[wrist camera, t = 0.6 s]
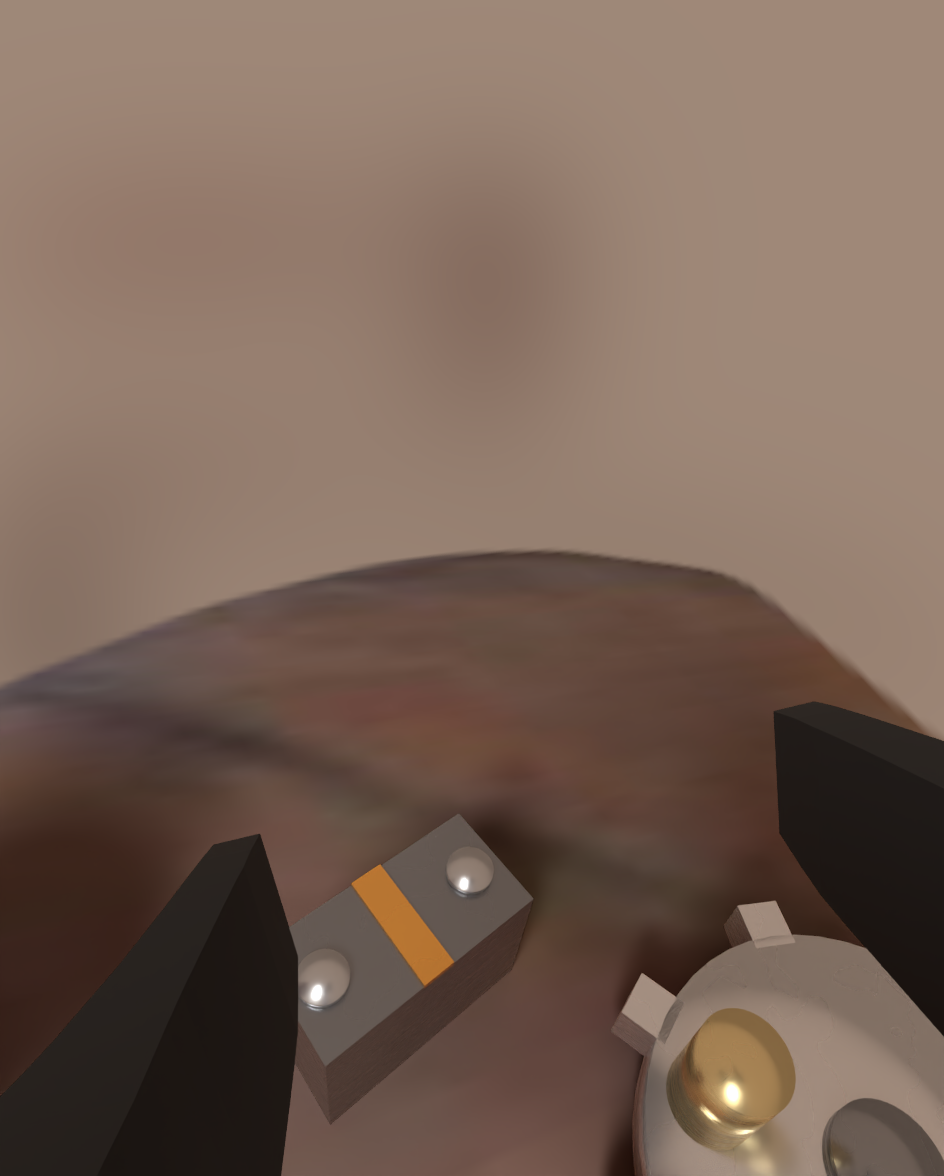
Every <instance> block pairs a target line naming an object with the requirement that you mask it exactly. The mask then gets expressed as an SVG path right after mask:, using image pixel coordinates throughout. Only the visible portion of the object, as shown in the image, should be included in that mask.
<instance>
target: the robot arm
mask: <svg viewBox="0 0 944 1176" xmlns="http://www.w3.org/2000/svg"><path fill="white" fill-rule="evenodd" d="M774 729H775V749H776V769H777V790H778V810H779V830H780V835H781V836H782V838H783V839H784V841H785V842H786V844H787V845H788V847H789V849H790V850H791V852H792V853H793V855H794V856H795V858H796V859H797V861H798V862H799V864H800V866H801V867H802V869H803V870H804V871H805V873H806V874H807V876H808V877H809V879H810V880H811V882H812V883H813V884H814V886H815V887H816V889H817V890H818V892H819V893H820V895H821V896H822V897H823V898H824V900H825V901H826V902H827V903H828V904H829V905H830V907H831V908H832V909H833V910H834V911H835V913H836V914H837V915H838V916H839V917H840V918H841V920H842V921H843V922H844V923H845V924H846V925H847V927H848V928H849V929H850V930H851V931H852V932H853V934H854V935H855V936H856V937H857V938H858V939H859V940H860V942H861V943H862V944H863V945H864V946H865V947H866V949H867V950H868V951H869V952H870V953H871V954H872V955H873V957H874V958H875V959H876V960H877V961H878V962H879V963H880V965H881V966H882V967H883V968H884V969H885V970H886V971H887V972H888V974H889V975H890V976H891V977H892V978H893V979H894V980H895V982H896V983H897V984H898V985H899V986H900V987H901V988H902V990H903V991H904V992H905V993H906V994H907V995H908V996H909V998H910V999H911V1000H912V1001H913V1002H914V1003H915V1004H916V1006H917V1007H918V1008H919V1009H920V1010H921V1011H922V1012H923V1014H924V1015H925V1016H926V1017H927V1018H928V1019H929V1020H930V1022H931V1023H932V1024H933V1025H934V1026H935V1027H936V1028H937V1030H938V1031H939V1032H940V1033H941V1034H942V1035H943V1036H944V741H942V740H939V739H936V738H933V737H929V736H926V735H923V734H920V733H917V732H914V731H911V730H908V729H905V728H902V727H899V726H896V725H893V724H890V723H887V722H884V721H881V720H878V719H875V718H871V717H868V716H865V715H862V714H859V713H855V712H852V711H849V710H845V709H842V708H839V707H835V706H831V705H827V704H823V703H819V702H810V703H806V704H802V705H798V706H794V707H789V708H785V709H781V710H777V711H774ZM297 1037H298V954H297V951H296V948H295V945H294V941H293V938H292V935H291V932H290V929H289V925H288V922H287V919H286V916H285V913H284V909H283V906H282V903H281V900H280V897H279V893H278V890H277V887H276V884H275V880H274V877H273V874H272V871H271V868H270V864H269V861H268V858H267V855H266V852H265V848H264V845H263V842H262V839H261V836H260V834H257V835H253V836H248V837H244V838H240V839H236V840H232V841H227V842H223V843H219V844H215V845H213V846H212V847H211V848H210V850H209V851H208V852H207V853H206V854H205V856H204V857H203V858H202V859H201V861H200V862H199V863H198V865H197V866H196V867H195V868H194V870H193V871H192V872H191V874H190V875H189V876H188V877H187V879H186V880H185V881H184V883H183V884H182V885H181V887H180V888H179V889H178V891H177V892H176V893H175V894H174V896H173V897H172V898H171V900H170V901H169V902H168V904H167V905H166V906H165V908H164V909H163V910H162V911H161V913H160V914H159V915H158V916H157V918H156V919H155V920H154V922H153V923H152V924H151V925H150V927H149V928H148V929H147V930H146V932H145V933H144V934H143V935H142V937H141V938H140V939H139V941H138V942H137V943H136V944H135V946H134V947H133V948H132V949H131V951H130V952H129V953H128V954H127V956H126V957H125V958H124V959H123V961H122V962H121V963H120V964H119V966H118V967H117V968H116V969H115V970H114V971H113V973H112V974H111V975H110V976H109V977H108V978H107V980H106V981H105V982H104V983H103V984H102V985H101V987H100V988H99V989H98V990H97V991H96V992H95V993H94V995H93V996H92V997H91V998H90V999H89V1000H88V1002H87V1003H86V1004H85V1005H84V1006H83V1007H82V1009H81V1010H80V1011H79V1012H78V1013H77V1014H76V1016H75V1017H74V1018H73V1019H72V1020H71V1021H70V1022H69V1024H68V1025H67V1026H66V1027H65V1028H64V1029H63V1031H62V1032H61V1033H60V1034H59V1035H58V1036H57V1038H56V1039H55V1040H54V1041H53V1042H52V1043H51V1044H50V1045H49V1046H48V1047H47V1048H46V1050H45V1051H44V1052H43V1053H42V1054H41V1055H40V1056H39V1057H38V1058H37V1059H36V1060H35V1061H34V1062H33V1063H32V1064H31V1066H30V1067H29V1068H28V1069H27V1070H26V1071H25V1072H24V1073H23V1074H22V1075H21V1076H20V1077H19V1078H18V1079H17V1080H16V1081H15V1082H14V1083H13V1084H12V1085H11V1086H10V1087H9V1088H8V1089H7V1090H6V1091H5V1092H4V1093H3V1094H2V1095H1V1096H0V1176H281V1171H282V1163H283V1155H284V1147H285V1139H286V1131H287V1122H288V1114H289V1106H290V1098H291V1089H292V1081H293V1072H294V1064H295V1055H296V1046H297Z"/></svg>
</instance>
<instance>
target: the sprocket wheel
mask: <svg viewBox="0 0 944 1176" xmlns="http://www.w3.org/2000/svg"><path fill="white" fill-rule="evenodd" d="M723 927H724V930H725V932H726V934H727V937H728V939H729V942H730V944H731V946H732V948H731V949H728V950H727V951H725V952H723V953H722V954H720V955H719V956H717V957H715V958H714V959H712V960H710V961H709V962H708V963H707V964H706V965H705V966H703V967H702V968H701V969H700V970H699V971H698V972H697V973H695V974H694V975H693V976H692V977H691V979H690V980H689V981H688V982H687V984H686V985H685V986H684V987H683V989H682V990H681V991H680V992H679V994H678V995H677V996H676V997H675V996H674V995H673V994H671V993H670V992H668V991H667V990H665V989H664V988H663V987H661V986H660V985H658V984H657V983H656V982H654V981H653V980H651V979H650V978H649V977H647V976H646V975H644V974H643V973H642V974H641V975H640V977H639V979H638V980H637V982H636V984H635V986H634V987H633V989H632V991H631V992H630V994H629V996H628V998H627V1000H626V1002H625V1004H624V1006H623V1008H622V1010H621V1012H620V1014H619V1015H618V1017H617V1019H616V1021H615V1023H614V1025H613V1027H612V1029H611V1032H612V1033H614V1034H615V1035H616V1036H618V1037H619V1038H620V1039H622V1040H623V1041H624V1042H626V1043H627V1044H628V1045H630V1046H631V1047H632V1048H634V1049H635V1050H636V1051H638V1052H639V1053H640V1054H641V1055H643V1056H644V1058H643V1061H642V1065H641V1069H640V1073H639V1077H638V1082H637V1086H636V1092H635V1101H634V1110H633V1119H632V1122H633V1162H634V1171H635V1176H944V1036H943V1035H942V1034H941V1033H940V1032H939V1031H938V1030H937V1028H936V1027H935V1026H934V1025H933V1024H932V1023H931V1022H930V1020H929V1019H928V1018H927V1017H926V1016H925V1015H924V1014H923V1012H922V1011H921V1010H920V1009H919V1008H918V1007H917V1006H916V1004H915V1003H914V1002H913V1001H912V1000H911V999H910V998H909V996H908V995H907V994H906V993H905V992H904V991H903V990H902V988H901V987H900V986H899V985H898V984H897V983H896V982H895V980H894V979H893V978H892V977H891V976H890V975H889V974H888V972H887V971H886V970H885V969H884V968H883V967H882V966H881V965H880V963H879V962H878V961H877V960H876V959H875V958H874V957H873V955H872V954H871V953H870V952H869V951H868V950H867V949H866V948H863V947H860V946H857V945H854V944H851V943H848V942H845V941H840V940H835V939H830V938H825V937H820V936H807V935H792V934H791V932H790V930H789V928H788V926H787V923H786V921H785V919H784V917H783V915H782V913H781V911H780V909H779V907H778V905H777V903H776V901H770V902H762V903H754V904H747V905H739V906H737V907H736V909H735V910H734V911H733V913H732V914H731V916H730V917H729V919H728V920H727V922H726V923H725V924H724V926H723Z"/></svg>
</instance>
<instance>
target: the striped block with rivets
mask: <svg viewBox="0 0 944 1176" xmlns="http://www.w3.org/2000/svg"><path fill="white" fill-rule="evenodd" d="M533 900H534V899H533V897H532V896H531V895H530V894H529V893H528V892H527V891H526V889H525V888H524V887H523V886H522V885H521V884H520V883H519V881H518V880H517V879H516V878H515V877H514V876H513V875H512V873H511V872H510V871H509V870H508V869H507V868H506V867H505V866H504V864H503V863H502V862H501V861H500V860H499V859H498V858H497V856H496V855H495V854H494V853H493V852H492V851H491V850H490V848H489V847H488V846H487V845H486V844H485V843H484V842H483V840H482V839H481V838H480V837H479V836H478V835H477V834H476V832H475V831H474V830H473V829H472V828H471V827H470V826H469V824H468V823H467V822H466V821H465V820H464V819H463V818H462V817H461V815H460V814H457V815H456V816H454V817H453V818H451V819H450V820H448V821H447V822H445V823H444V824H442V825H441V826H439V827H438V828H436V829H435V830H433V831H432V832H430V833H429V834H427V835H426V836H424V837H423V838H421V839H420V840H418V841H417V842H415V843H414V844H412V845H411V846H409V847H408V848H406V849H405V850H403V851H402V852H400V853H399V854H397V855H396V856H395V857H393V858H392V859H390V860H389V861H387V862H386V863H384V864H383V865H378V866H377V867H375V868H374V869H372V870H371V871H369V872H368V873H366V874H365V875H363V876H362V877H360V878H359V879H357V880H356V881H354V882H353V883H351V886H350V887H348V888H347V889H345V890H344V891H342V892H341V893H339V894H338V895H336V896H335V897H333V898H332V899H330V900H329V901H327V902H326V903H324V904H323V905H322V906H320V907H319V908H317V909H316V910H314V911H313V912H311V913H310V914H308V915H307V916H305V917H304V918H302V919H301V920H299V921H298V922H296V923H295V924H293V925H292V926H290V927H289V929H290V932H291V935H292V938H293V941H294V945H295V948H296V951H297V954H298V1037H297V1046H296V1055H295V1064H296V1065H297V1067H298V1069H299V1071H300V1072H301V1074H302V1076H303V1078H304V1079H305V1081H306V1083H307V1085H308V1086H309V1088H310V1090H311V1092H312V1093H313V1095H314V1097H315V1099H316V1100H317V1102H318V1104H319V1106H320V1108H321V1109H322V1111H323V1113H324V1115H325V1116H326V1118H327V1120H328V1122H329V1123H330V1125H331V1124H332V1123H333V1122H334V1121H335V1120H336V1119H338V1118H339V1117H340V1116H341V1115H342V1114H343V1113H345V1112H346V1111H347V1110H348V1109H349V1108H350V1107H352V1106H353V1105H354V1104H355V1103H356V1102H357V1101H359V1100H360V1099H361V1098H362V1097H363V1096H364V1095H366V1094H367V1093H368V1092H369V1091H370V1090H371V1089H373V1088H374V1087H375V1086H376V1085H377V1084H378V1083H380V1082H381V1081H382V1080H383V1079H384V1078H386V1077H387V1076H388V1075H389V1074H390V1073H391V1072H393V1071H394V1070H395V1069H396V1068H397V1067H398V1066H400V1065H401V1064H402V1063H403V1062H404V1061H405V1060H407V1059H408V1058H409V1057H410V1056H411V1055H412V1054H414V1053H415V1052H416V1051H417V1050H418V1049H419V1048H421V1047H422V1046H423V1045H424V1044H425V1043H426V1042H428V1041H429V1040H430V1039H431V1038H432V1037H433V1036H435V1035H436V1034H437V1033H438V1032H439V1031H440V1030H442V1029H443V1028H444V1027H445V1026H446V1025H447V1024H449V1023H450V1022H451V1021H452V1020H453V1019H454V1018H456V1017H457V1016H458V1015H459V1014H460V1013H462V1012H463V1011H464V1010H465V1009H466V1008H467V1007H469V1006H470V1005H471V1004H472V1003H473V1002H474V1001H476V1000H477V999H478V998H479V997H480V996H481V995H483V994H484V993H485V992H486V991H487V990H488V989H490V988H491V987H492V986H493V985H494V984H495V983H497V982H498V981H499V980H500V979H501V978H502V977H504V976H505V975H506V974H507V973H508V972H509V971H511V970H512V966H513V963H514V960H515V957H516V954H517V951H518V947H519V944H520V941H521V938H522V935H523V931H524V928H525V925H526V922H527V919H528V916H529V912H530V909H531V906H532V903H533Z"/></svg>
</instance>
